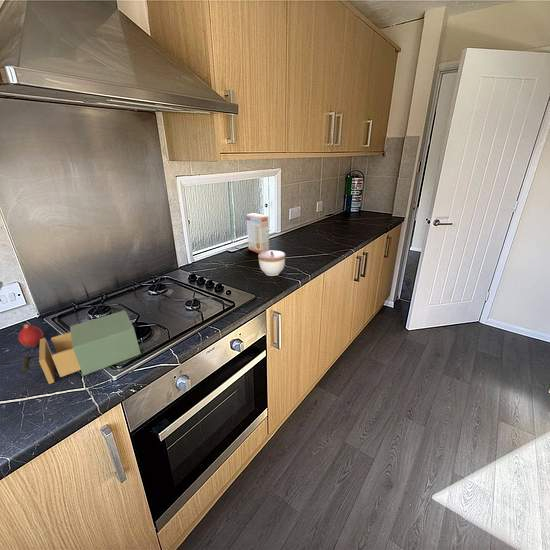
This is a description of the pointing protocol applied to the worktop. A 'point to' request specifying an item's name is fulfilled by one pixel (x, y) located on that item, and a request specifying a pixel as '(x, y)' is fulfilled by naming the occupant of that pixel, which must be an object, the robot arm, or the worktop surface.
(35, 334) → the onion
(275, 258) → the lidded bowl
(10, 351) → the worktop surface
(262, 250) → the cracker box
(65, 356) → the wooden pull-out drawer
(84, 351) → the green box
